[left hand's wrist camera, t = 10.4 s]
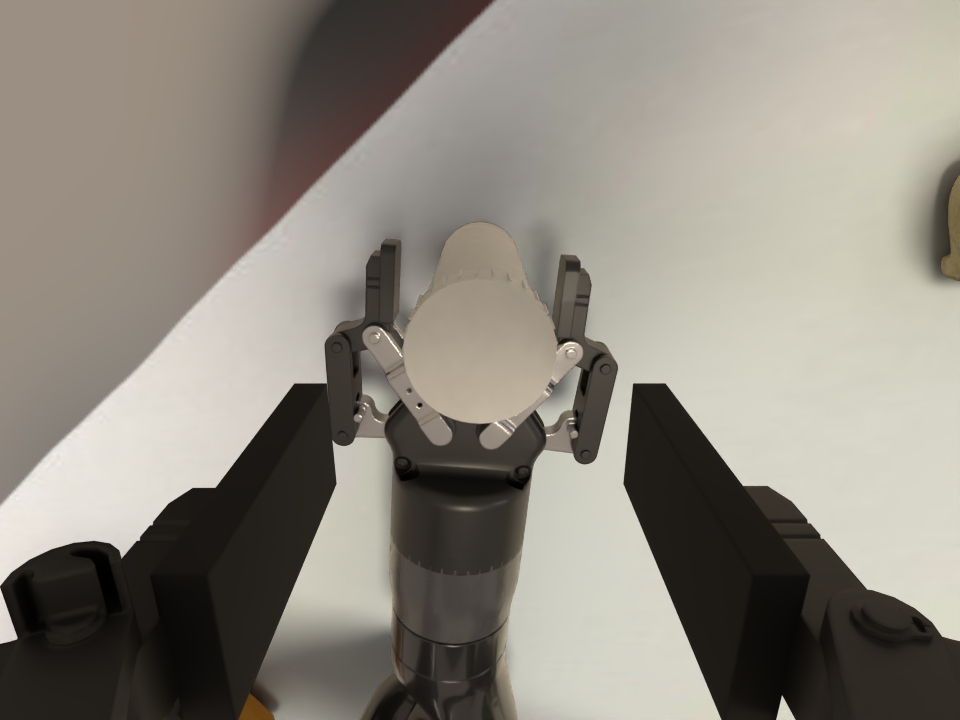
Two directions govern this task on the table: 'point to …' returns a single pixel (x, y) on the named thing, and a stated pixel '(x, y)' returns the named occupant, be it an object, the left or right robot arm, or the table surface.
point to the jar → (480, 252)
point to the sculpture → (953, 235)
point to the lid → (480, 346)
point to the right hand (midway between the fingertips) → (480, 249)
